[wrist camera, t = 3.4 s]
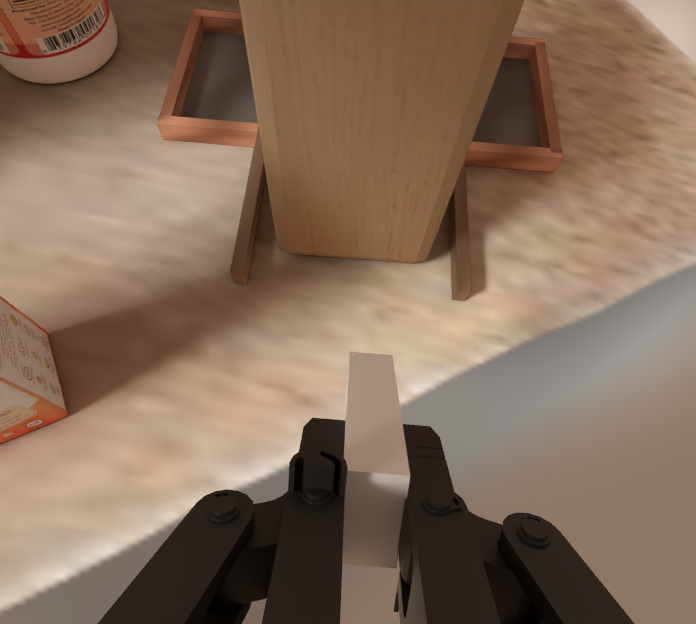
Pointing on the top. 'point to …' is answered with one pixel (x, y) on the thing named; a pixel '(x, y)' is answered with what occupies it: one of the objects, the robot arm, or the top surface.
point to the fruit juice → (55, 38)
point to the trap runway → (242, 130)
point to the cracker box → (26, 376)
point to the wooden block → (369, 115)
